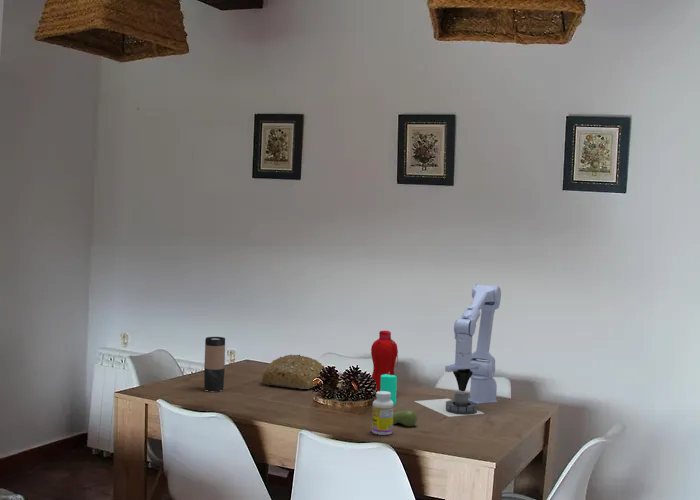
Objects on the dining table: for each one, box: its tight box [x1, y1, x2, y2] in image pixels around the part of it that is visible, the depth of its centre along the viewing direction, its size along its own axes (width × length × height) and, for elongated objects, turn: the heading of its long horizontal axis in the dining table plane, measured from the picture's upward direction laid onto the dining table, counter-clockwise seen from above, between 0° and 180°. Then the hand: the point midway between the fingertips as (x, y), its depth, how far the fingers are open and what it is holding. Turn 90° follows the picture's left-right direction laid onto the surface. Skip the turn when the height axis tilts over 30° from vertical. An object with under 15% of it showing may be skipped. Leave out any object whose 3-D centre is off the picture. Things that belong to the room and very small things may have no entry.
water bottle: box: [370, 330, 399, 394], centre depth 302 cm, size 9×11×25 cm
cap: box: [453, 391, 470, 406], centre depth 282 cm, size 5×5×5 cm
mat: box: [414, 398, 486, 418], centre depth 287 cm, size 15×24×1 cm, turn 25°
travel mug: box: [203, 336, 226, 391], centre depth 303 cm, size 8×8×20 cm
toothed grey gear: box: [446, 399, 478, 416], centre depth 282 cm, size 11×11×3 cm
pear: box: [393, 409, 418, 428], centre depth 261 cm, size 6×5×10 cm
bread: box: [261, 354, 326, 390], centre depth 318 cm, size 24×21×12 cm
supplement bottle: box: [371, 391, 395, 436], centre depth 250 cm, size 7×7×13 cm
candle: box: [380, 374, 398, 405], centre depth 289 cm, size 6×6×12 cm
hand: (462, 390), depth 282 cm, fingers closed
